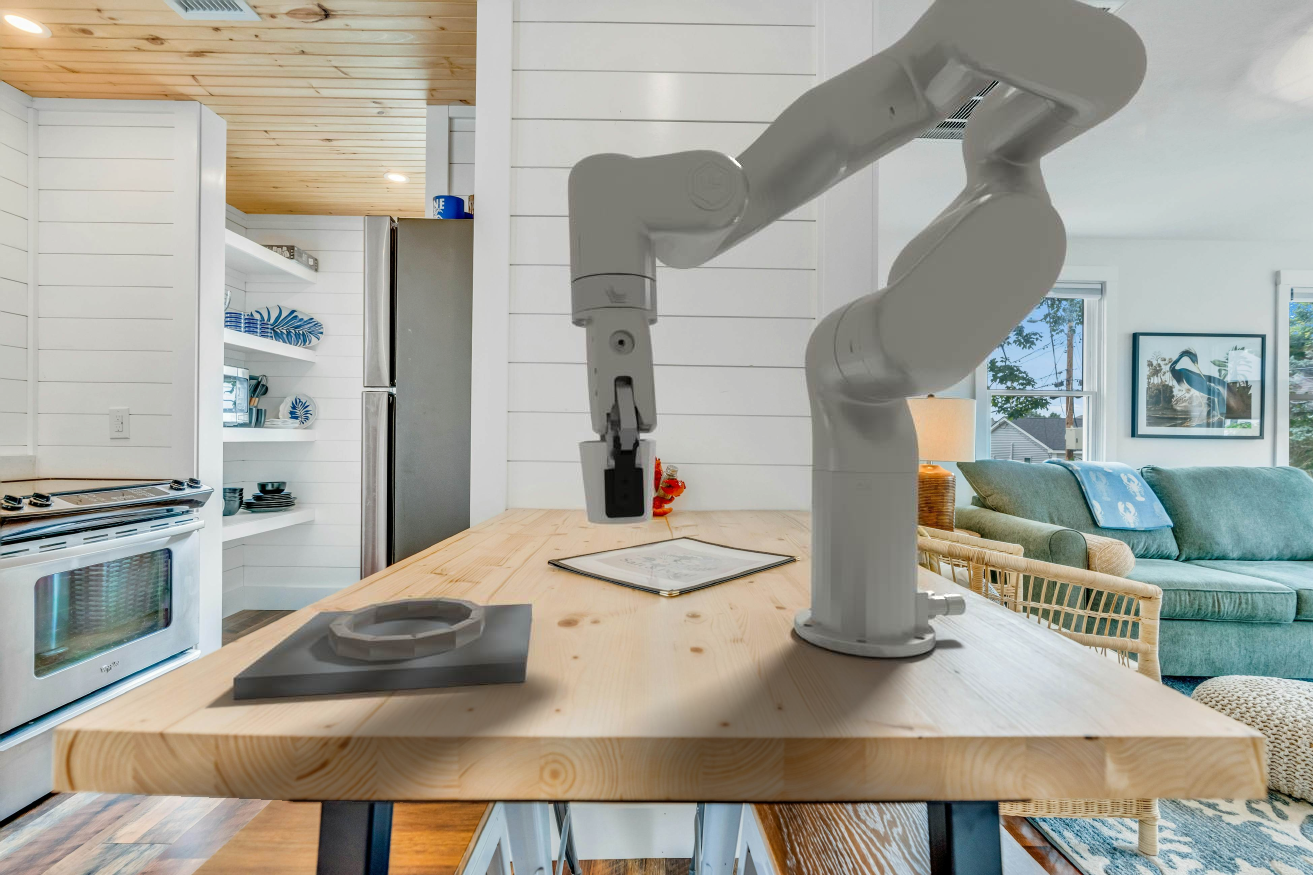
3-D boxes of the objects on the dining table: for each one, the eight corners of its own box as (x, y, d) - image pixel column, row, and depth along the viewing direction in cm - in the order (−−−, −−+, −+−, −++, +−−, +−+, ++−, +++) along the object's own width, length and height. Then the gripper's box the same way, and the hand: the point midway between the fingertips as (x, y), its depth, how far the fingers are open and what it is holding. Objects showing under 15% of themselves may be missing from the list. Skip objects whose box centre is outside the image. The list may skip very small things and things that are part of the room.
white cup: (650, 525, 49) (647, 439, 49) (570, 525, 50) (567, 441, 50) (665, 513, 55) (663, 438, 55) (594, 514, 57) (592, 440, 57)
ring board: (531, 618, 61) (532, 588, 61) (524, 681, 45) (525, 641, 45) (320, 627, 58) (320, 596, 58) (233, 699, 42) (233, 656, 42)
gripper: (676, 282, 45) (683, 523, 45) (642, 324, 62) (647, 499, 62) (575, 280, 43) (582, 529, 44) (568, 324, 60) (574, 503, 60)
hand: (620, 509), depth 53 cm, fingers closed on white cup, 5 cm apart
